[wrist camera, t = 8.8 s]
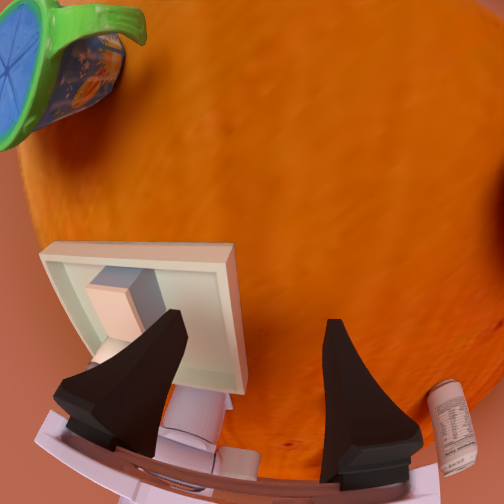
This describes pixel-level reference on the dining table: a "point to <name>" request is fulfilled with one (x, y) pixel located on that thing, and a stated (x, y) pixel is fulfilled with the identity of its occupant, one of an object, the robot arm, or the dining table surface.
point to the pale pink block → (126, 300)
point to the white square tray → (165, 300)
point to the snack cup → (58, 61)
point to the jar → (107, 351)
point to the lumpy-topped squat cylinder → (239, 463)
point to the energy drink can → (452, 427)
